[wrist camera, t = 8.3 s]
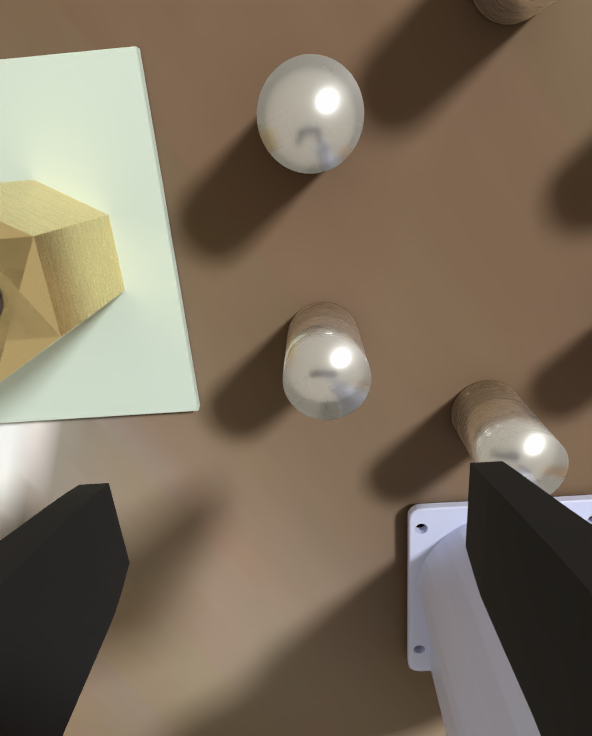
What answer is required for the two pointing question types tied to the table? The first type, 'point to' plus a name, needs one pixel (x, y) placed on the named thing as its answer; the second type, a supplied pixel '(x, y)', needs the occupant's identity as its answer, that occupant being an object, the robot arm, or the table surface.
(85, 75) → the pad
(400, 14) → the table surface
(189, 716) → the table surface
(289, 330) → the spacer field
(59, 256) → the brass nut
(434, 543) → the robot arm
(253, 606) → the table surface
